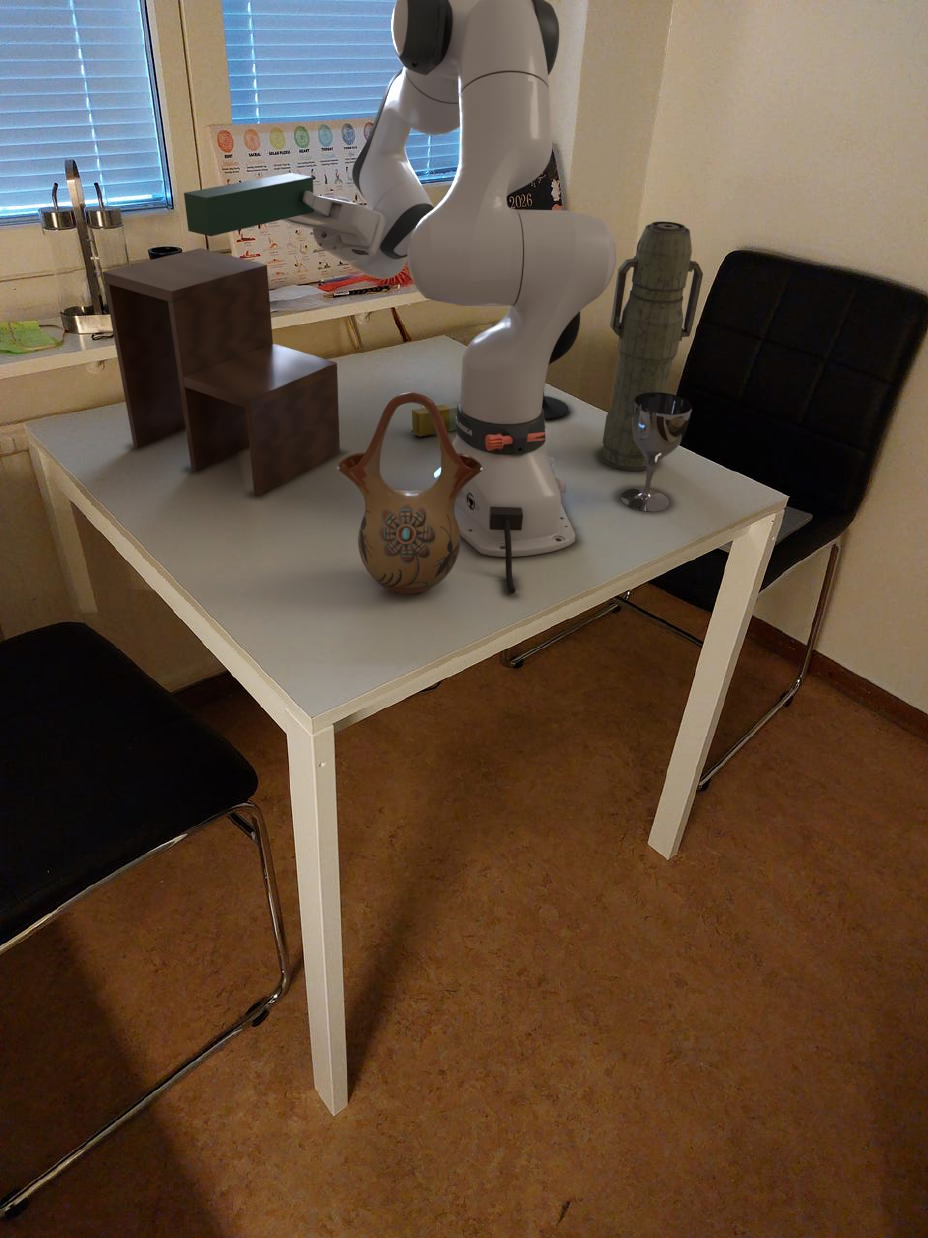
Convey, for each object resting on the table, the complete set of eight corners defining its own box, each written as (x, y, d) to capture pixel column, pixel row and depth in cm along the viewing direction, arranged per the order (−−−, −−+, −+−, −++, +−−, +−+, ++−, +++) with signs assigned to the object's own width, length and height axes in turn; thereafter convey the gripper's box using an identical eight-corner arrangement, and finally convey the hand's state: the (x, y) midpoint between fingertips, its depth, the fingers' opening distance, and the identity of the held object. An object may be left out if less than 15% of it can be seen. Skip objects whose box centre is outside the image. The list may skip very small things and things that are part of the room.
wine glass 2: (608, 489, 134) (624, 394, 125) (656, 484, 136) (674, 390, 127) (632, 515, 128) (650, 416, 119) (681, 509, 130) (703, 412, 121)
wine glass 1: (540, 425, 152) (553, 306, 140) (497, 405, 158) (506, 289, 146) (581, 411, 158) (596, 295, 146) (538, 392, 164) (550, 280, 152)
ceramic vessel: (471, 565, 115) (483, 377, 100) (478, 606, 107) (492, 409, 93) (342, 566, 113) (335, 375, 98) (340, 608, 106) (333, 407, 91)
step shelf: (219, 410, 150) (200, 247, 135) (340, 453, 139) (334, 281, 124) (133, 446, 137) (101, 271, 122) (259, 496, 127) (241, 311, 111)
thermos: (584, 447, 145) (616, 217, 125) (653, 446, 147) (696, 218, 127) (599, 472, 138) (636, 232, 118) (672, 470, 140) (720, 233, 120)
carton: (293, 207, 142) (291, 172, 139) (314, 211, 140) (312, 176, 137) (188, 230, 126) (183, 192, 124) (210, 236, 125) (206, 197, 122)
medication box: (472, 421, 152) (472, 398, 150) (481, 425, 150) (481, 402, 148) (410, 432, 146) (410, 408, 144) (419, 437, 144) (419, 413, 142)
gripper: (298, 198, 153) (244, 161, 141) (394, 218, 145) (346, 181, 132) (287, 235, 154) (233, 202, 142) (382, 257, 146) (333, 224, 133)
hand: (288, 192), depth 137 cm, fingers closed on carton, 4 cm apart
